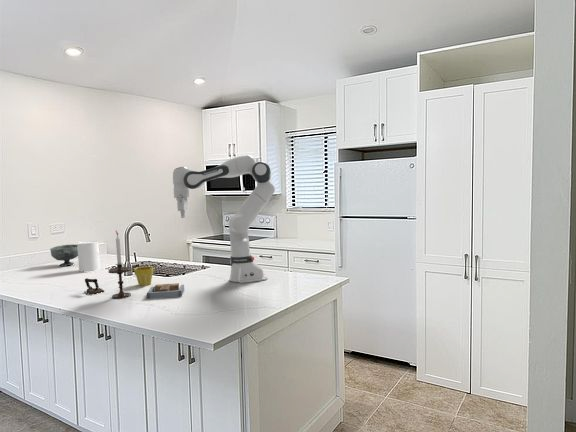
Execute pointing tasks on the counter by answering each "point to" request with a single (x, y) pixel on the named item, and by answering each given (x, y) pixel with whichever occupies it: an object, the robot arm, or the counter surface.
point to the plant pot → (144, 275)
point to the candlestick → (119, 272)
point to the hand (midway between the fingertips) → (183, 217)
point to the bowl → (65, 253)
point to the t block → (166, 287)
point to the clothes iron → (93, 290)
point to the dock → (164, 293)
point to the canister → (88, 256)
